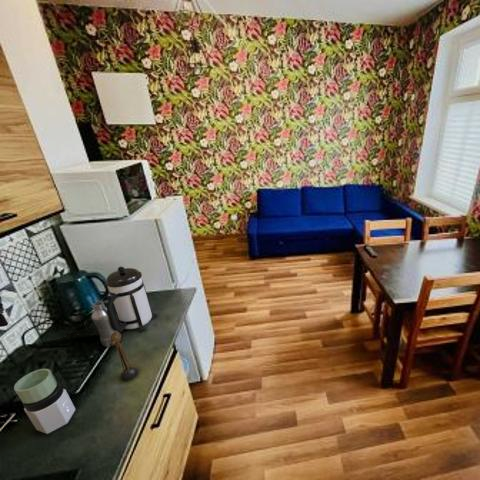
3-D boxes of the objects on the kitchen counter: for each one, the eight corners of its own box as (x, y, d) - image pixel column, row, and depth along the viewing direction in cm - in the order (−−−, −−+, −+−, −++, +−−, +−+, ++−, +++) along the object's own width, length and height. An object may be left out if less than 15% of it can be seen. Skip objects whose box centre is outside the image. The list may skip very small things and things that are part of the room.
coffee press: (113, 323, 123) (93, 266, 111) (152, 309, 133) (137, 255, 121) (119, 345, 111) (96, 283, 99) (161, 327, 121) (145, 270, 109)
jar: (63, 430, 80) (48, 403, 75) (30, 437, 78) (12, 410, 73) (80, 403, 88) (67, 377, 83) (50, 409, 86) (35, 382, 81)
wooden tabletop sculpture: (133, 382, 95) (118, 339, 87) (118, 385, 94) (101, 341, 86) (139, 369, 100) (124, 327, 92) (124, 371, 99) (109, 329, 91)
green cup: (15, 408, 74) (6, 394, 71) (32, 385, 80) (24, 372, 78) (48, 400, 76) (41, 387, 74) (62, 379, 82) (56, 366, 80)
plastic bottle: (103, 351, 108) (87, 311, 100) (102, 341, 112) (86, 302, 105) (122, 344, 111) (108, 304, 104) (120, 335, 116) (107, 296, 109)
